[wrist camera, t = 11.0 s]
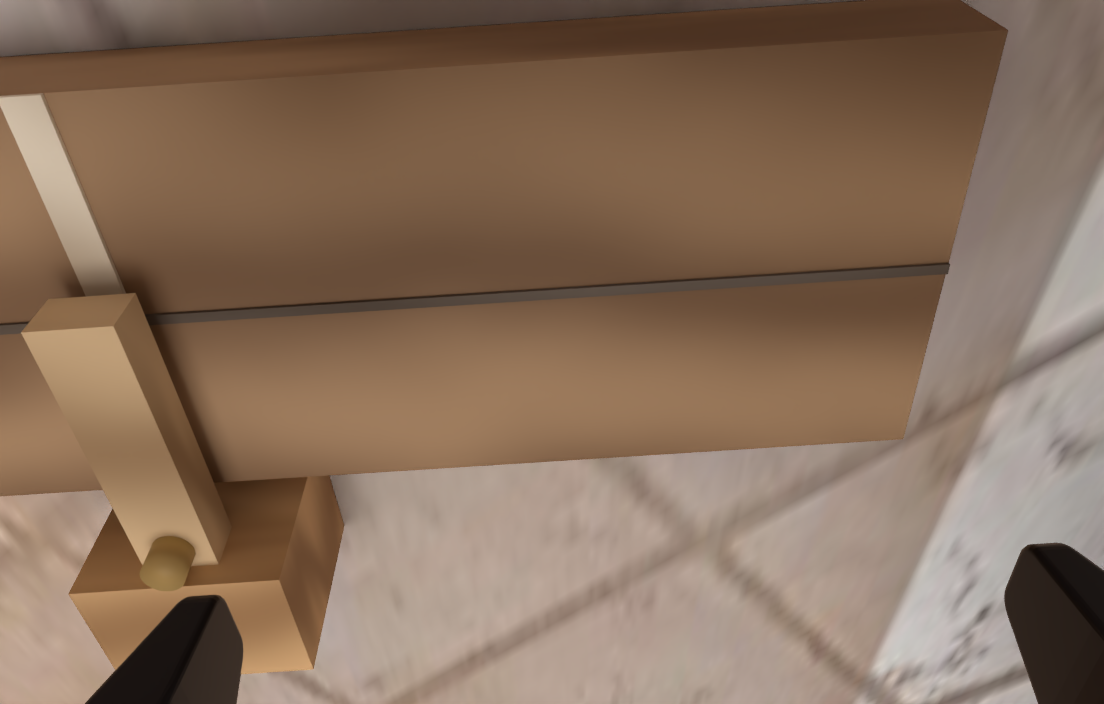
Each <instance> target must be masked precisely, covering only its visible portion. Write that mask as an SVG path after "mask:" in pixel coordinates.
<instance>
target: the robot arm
mask: <svg viewBox="0 0 1104 704" xmlns="http://www.w3.org/2000/svg"><path fill="white" fill-rule="evenodd" d="M1004 599H1005V607H1006V611H1007V615H1008V618H1009V621H1010V623H1011V626H1012V629H1013V632H1014V635H1015V638H1016V641H1017V644H1018V647H1019V650H1020V652H1021V655H1022V658H1023V661H1024V664H1025V667H1026V670H1027V673H1028V676H1029V678H1030V681H1031V684H1032V687H1033V690H1034V693H1035V696H1036V699H1037V702H1038V704H1104V570H1102V569H1101V568H1099V567H1098V566H1097V565H1095V564H1094V563H1093V562H1091V561H1090V560H1088V559H1087V558H1086V557H1084V556H1083V555H1082V554H1080V553H1079V552H1077V551H1076V550H1075V549H1073V548H1071V547H1070V546H1068V545H1065V544H1062V543H1044V544H1031V545H1027V546H1026V547H1025V548H1023V549H1022V551H1021V553H1020V555H1019V557H1018V560H1017V562H1016V565H1015V567H1014V569H1013V572H1012V574H1011V577H1010V579H1009V582H1008V584H1007V586H1006V590H1005V596H1004ZM242 662H243V641H242V637H241V634H240V632H239V630H238V628H237V625H236V623H235V621H234V619H233V616H232V614H231V612H230V610H229V607H228V605H227V603H226V601H225V600H224V598H222V597H221V596H220V595H200V596H189V597H186V598H184V599H182V600H181V601H179V602H178V603H177V604H176V605H175V606H174V607H173V608H172V610H171V611H170V612H169V613H168V614H167V615H166V616H165V617H164V618H163V619H162V620H161V621H160V623H159V624H158V625H157V626H156V627H155V628H154V629H153V630H152V631H151V632H150V633H149V634H148V636H147V637H146V638H145V639H144V640H143V641H142V642H141V643H140V644H139V645H138V646H137V648H136V649H135V650H134V651H133V652H132V653H131V654H130V655H129V656H128V657H127V658H126V659H125V661H124V662H123V663H122V664H121V665H120V666H119V667H118V668H117V669H116V670H115V671H114V672H113V674H112V675H111V676H110V677H109V678H108V679H107V680H106V681H105V682H104V683H103V684H102V686H101V687H100V688H99V689H98V690H97V691H96V692H95V693H94V694H93V695H92V696H91V697H90V699H89V700H88V701H87V702H86V703H85V704H236V703H237V696H238V689H239V683H240V676H241V669H242Z"/></svg>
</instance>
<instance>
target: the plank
mask: <svg viewBox="0 0 1104 704" xmlns="http://www.w3.org/2000/svg"><path fill="white" fill-rule="evenodd" d="M1007 33H1008V30H1007V29H1006V28H1004V27H1002V26H1001V25H999V24H998V23H996V22H994V21H993V20H991V19H990V18H988V17H986V16H985V15H983V14H982V13H980V12H978V11H977V10H975V9H973V8H972V7H970V6H969V5H967V4H965V3H964V2H962V1H961V0H865V1H850V2H835V3H820V4H804V5H789V6H774V7H759V8H743V9H728V10H713V11H698V12H682V13H667V14H652V15H636V16H621V17H606V18H591V19H575V20H560V21H545V22H530V23H514V24H499V25H484V26H469V27H453V28H438V29H423V30H408V31H392V32H377V33H362V34H346V35H331V36H316V37H301V38H285V39H270V40H255V41H240V42H224V43H209V44H194V45H179V46H163V47H148V48H133V49H118V50H102V51H87V52H72V53H57V54H41V55H26V56H11V57H0V496H12V495H28V494H43V493H59V492H75V491H91V490H103V489H102V487H101V485H100V483H99V481H98V479H97V477H96V475H95V473H94V472H93V470H92V468H91V466H90V464H89V462H88V460H87V458H86V456H85V454H84V452H83V451H82V449H81V447H80V445H79V443H78V441H77V439H76V437H75V435H74V433H73V431H72V429H71V428H70V426H69V424H68V422H67V420H66V418H65V416H64V414H63V412H62V410H61V408H60V407H59V405H58V403H57V401H56V399H55V397H54V395H53V393H52V391H51V389H50V387H49V385H48V384H47V382H46V380H45V378H44V376H43V374H42V372H41V370H40V368H39V366H38V364H37V363H36V361H35V359H34V357H33V355H32V353H31V351H30V349H29V347H28V345H27V343H26V341H25V340H24V338H23V336H22V334H21V332H22V331H23V329H24V328H25V327H26V326H27V325H28V323H29V322H30V321H31V320H32V318H33V317H34V316H35V315H36V314H37V312H38V311H39V310H40V309H41V307H42V306H43V305H44V304H45V303H46V301H47V300H48V299H58V298H72V297H86V296H101V295H115V294H129V293H136V295H137V297H138V300H139V302H140V305H141V307H142V310H143V312H144V314H145V317H146V319H147V322H148V324H149V327H150V329H151V331H152V334H153V336H154V339H155V341H156V344H157V346H158V348H159V351H160V353H161V356H162V358H163V361H164V363H165V365H166V368H167V370H168V373H169V375H170V378H171V380H172V382H173V385H174V387H175V390H176V392H177V395H178V397H179V399H180V402H181V404H182V407H183V409H184V412H185V414H186V416H187V419H188V421H189V424H190V426H191V429H192V431H193V433H194V436H195V438H196V441H197V443H198V446H199V448H200V450H201V453H202V455H203V458H204V460H205V463H206V465H207V467H208V470H209V472H210V475H211V477H212V480H213V482H214V483H217V482H233V481H249V480H265V479H280V478H296V477H312V476H328V475H343V474H359V473H375V472H391V471H407V470H422V469H438V468H454V467H470V466H486V465H501V464H517V463H533V462H549V461H565V460H580V459H596V458H612V457H628V456H643V455H659V454H675V453H691V452H707V451H722V450H738V449H754V448H770V447H786V446H801V445H817V444H833V443H849V442H865V441H880V440H896V439H903V438H904V434H905V430H906V426H907V422H908V418H909V414H910V411H911V407H912V403H913V399H914V395H915V391H916V387H917V383H918V379H919V375H920V372H921V368H922V364H923V360H924V356H925V352H926V348H927V344H928V340H929V337H930V333H931V329H932V325H933V321H934V317H935V313H936V309H937V305H938V302H939V298H940V294H941V290H942V286H943V282H944V278H945V274H948V270H949V266H950V264H949V259H950V255H951V251H952V247H953V243H954V239H955V235H956V231H957V228H958V224H959V220H960V216H961V212H962V208H963V204H964V200H965V196H966V192H967V189H968V185H969V181H970V177H971V173H972V169H973V165H974V161H975V157H976V154H977V150H978V146H979V142H980V138H981V134H982V130H983V126H984V122H985V119H986V115H987V111H988V107H989V103H990V99H991V95H992V91H993V87H994V83H995V80H996V76H997V72H998V68H999V64H1000V60H1001V56H1002V52H1003V48H1004V45H1005V41H1006V37H1007Z"/></svg>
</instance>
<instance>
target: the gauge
mask: <svg viewBox="0 0 1104 704" xmlns="http://www.w3.org/2000/svg"><path fill="white" fill-rule="evenodd" d="M21 334H22V336H23V338H24V340H25V341H26V343H27V345H28V347H29V349H30V351H31V353H32V355H33V357H34V359H35V361H36V363H37V364H38V366H39V368H40V370H41V372H42V374H43V376H44V378H45V380H46V382H47V384H48V385H49V387H50V389H51V391H52V393H53V395H54V397H55V399H56V401H57V403H58V405H59V407H60V408H61V410H62V412H63V414H64V416H65V418H66V420H67V422H68V424H69V426H70V428H71V429H72V431H73V433H74V435H75V437H76V439H77V441H78V443H79V445H80V447H81V449H82V451H83V452H84V454H85V456H86V458H87V460H88V462H89V464H90V466H91V468H92V470H93V472H94V473H95V475H96V477H97V479H98V481H99V483H100V485H101V487H102V489H103V491H104V493H105V495H106V496H107V498H108V500H109V502H110V504H111V506H112V508H113V509H112V511H111V513H110V515H109V517H108V519H107V521H106V522H105V524H104V526H103V528H102V530H101V532H100V534H99V536H98V538H97V540H96V542H95V544H94V546H93V548H92V550H91V551H90V553H89V555H88V557H87V559H86V561H85V563H84V565H83V567H82V569H81V571H80V573H79V575H78V577H77V579H76V581H75V582H74V584H73V586H72V588H71V590H70V592H69V596H70V597H71V599H72V601H73V602H74V604H75V606H76V607H77V609H78V610H79V612H80V614H81V615H82V617H83V618H84V620H85V622H86V623H87V625H88V627H89V628H90V630H91V631H92V633H93V635H94V636H95V638H96V639H97V641H98V643H99V644H100V646H101V648H102V649H103V651H104V652H105V654H106V656H107V657H108V659H109V660H110V662H111V664H112V665H113V667H114V669H115V670H116V669H117V668H118V667H119V666H120V665H121V664H122V663H123V662H124V661H125V659H126V658H127V657H128V656H129V655H130V654H131V653H132V652H133V651H134V650H135V649H136V648H137V646H138V645H139V644H140V643H141V642H142V641H143V640H144V639H145V638H146V637H147V636H148V634H149V633H150V632H151V631H152V630H153V629H154V628H155V627H156V626H157V625H158V624H159V623H160V621H161V620H162V619H163V618H164V617H165V616H166V615H167V614H168V613H169V612H170V611H171V610H172V608H173V607H174V606H175V605H176V604H177V603H178V602H179V601H181V600H182V599H184V598H186V597H189V596H200V595H220V596H221V597H222V598H224V600H225V601H226V603H227V605H228V607H229V610H230V612H231V614H232V616H233V619H234V621H235V623H236V625H237V628H238V630H239V632H240V634H241V637H242V641H243V662H242V669H241V674H251V673H266V672H281V671H296V670H311V669H314V664H315V659H316V655H317V650H318V645H319V641H320V636H321V632H322V627H323V622H324V618H325V613H326V608H327V604H328V599H329V594H330V590H331V585H332V580H333V576H334V571H335V566H336V562H337V557H338V552H339V548H340V543H341V538H342V534H343V529H344V523H343V520H342V516H341V513H340V510H339V506H338V503H337V500H336V496H335V493H334V490H333V486H332V483H331V480H330V476H329V475H328V476H312V477H296V478H280V479H265V480H249V481H233V482H217V483H214V482H213V480H212V477H211V475H210V472H209V470H208V467H207V465H206V463H205V460H204V458H203V455H202V453H201V450H200V448H199V446H198V443H197V441H196V438H195V436H194V433H193V431H192V429H191V426H190V424H189V421H188V419H187V416H186V414H185V412H184V409H183V407H182V404H181V402H180V399H179V397H178V395H177V392H176V390H175V387H174V385H173V382H172V380H171V378H170V375H169V373H168V370H167V368H166V365H165V363H164V361H163V358H162V356H161V353H160V351H159V348H158V346H157V344H156V341H155V339H154V336H153V334H152V331H151V329H150V327H149V324H148V322H147V319H146V317H145V314H144V312H143V310H142V307H141V305H140V302H139V300H138V297H137V295H136V293H129V294H115V295H101V296H86V297H72V298H58V299H48V300H47V301H46V303H45V304H44V305H43V306H42V307H41V309H40V310H39V311H38V312H37V314H36V315H35V316H34V317H33V318H32V320H31V321H30V322H29V323H28V325H27V326H26V327H25V328H24V329H23V331H22V332H21Z"/></svg>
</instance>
